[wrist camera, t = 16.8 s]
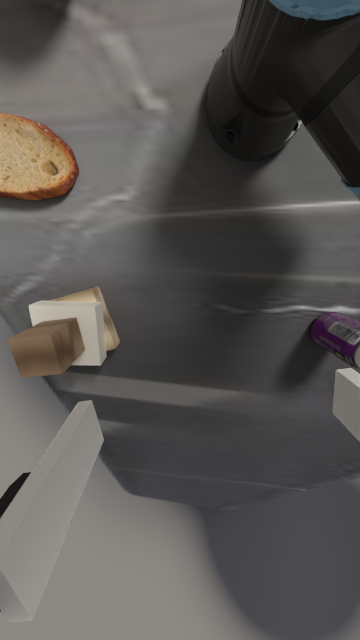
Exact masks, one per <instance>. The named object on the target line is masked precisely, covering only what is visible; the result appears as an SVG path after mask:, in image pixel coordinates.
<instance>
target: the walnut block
mask: <svg viewBox="0 0 360 640" xmlns="http://www.w3.org/2000/svg"><path fill="white" fill-rule="evenodd" d="M7 340H8V343H9V346H10V348H11V351H12V354H13V356H14V359H15V361H16V364H17V367H18V369H19V372H20V374H21V377H22V378H27V377H36V376H46V375H55V374H63V373H64V372H65V371H66V370H67V368H68V367H69V366H70V365H71V364H72V363H73V362H74V361H75V360H76V359H77V358H78V357H79V356H80V355H81V354H82V353H83V352H84V351H85V346H84V343H83V339H82V335H81V332H80V328H79V324H78V321H77V317H76V318H67V319H59V320H50V321H42V322H40V323H38V324H36V325H34V326H32V327H30V328H29V329H27V330H25V331H23V332H21V333H19V334H17V335H15V336H13V337H11V338H9V339H7Z"/></svg>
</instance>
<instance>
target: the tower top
mask: <svg viewBox="0 0 360 640" xmlns="http://www.w3.org/2000/svg"><path fill="white" fill-rule="evenodd" d="M29 311H30V316H31V321H32V326H34V325H36V324H38V323H40V322H42V321H50V320H59V319H67V318H76V317H77V321H78V324H79V328H80V332H81V335H82V339H83V343H84V346H85V351H84V352H83V353H82V354H81V355H80V356H79V357H78V358H77V359H76V360H75V361H74V362H73V363H72V364H71V365H91V366H101V364H102V363H103V361H104V360H105V358H106V357H107V355H106V344H105V332H104V320H103V308H102V302H79V301H39V302H36V303H33V304H31V305H29Z"/></svg>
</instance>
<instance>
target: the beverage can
mask: <svg viewBox="0 0 360 640" xmlns="http://www.w3.org/2000/svg"><path fill="white" fill-rule="evenodd" d="M311 335H312V338H313V340H314V341H315V342H316V343H318V344H319V345H321V346H322V347H324V348H325V349H327V350H328V351H330V352H331V353H333V354H334V355H336V356H337V357H339V358H340V359H342V360H343V361H345V362H346V363H348V364H349V365H351V366H353V367H355V368H360V322H359V321H357V320H354V319H352V318H349V317H347V316H344V315H342V314H339V313H336V312H329V313H325V314H323V315H321V316H320V317H318V318H317V319H316V320H315V322H314V323H313V325H312V328H311Z"/></svg>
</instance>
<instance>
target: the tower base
mask: <svg viewBox="0 0 360 640" xmlns="http://www.w3.org/2000/svg"><path fill="white" fill-rule="evenodd" d="M51 301H79V302H102V308H103V320H104V332H105V344H106V351H109V350H112V349H116V348H117V346H118V345H119V343H120V339H119V337H118V334H117V332H116V329H115V327H114V324H113V322H112V319H111V317H110V314H109V312H108V309H107V307H106V304H105V302H104V299H103V297H102V294H101V292H100V289H99V287H94V288H91V289H88V290H84V291H81V292H78V293H74V294H71V295H67V296H64V297H61V298H57V299H54V300H51Z"/></svg>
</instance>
